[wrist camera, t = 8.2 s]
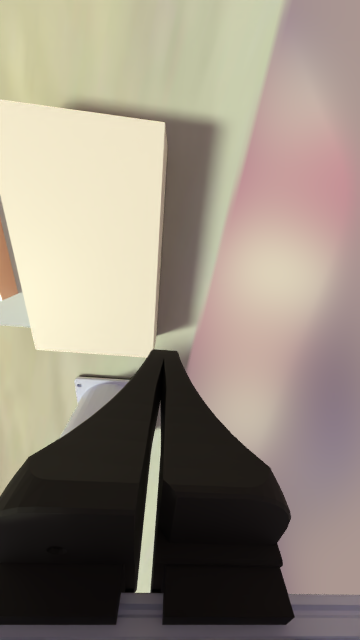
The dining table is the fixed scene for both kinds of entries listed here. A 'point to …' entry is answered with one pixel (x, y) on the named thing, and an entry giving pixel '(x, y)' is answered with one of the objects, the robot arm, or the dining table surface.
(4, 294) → the terracotta tile
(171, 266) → the dining table surface
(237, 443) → the robot arm
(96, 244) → the cream rectangular block
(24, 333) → the dining table surface
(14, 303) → the mat
